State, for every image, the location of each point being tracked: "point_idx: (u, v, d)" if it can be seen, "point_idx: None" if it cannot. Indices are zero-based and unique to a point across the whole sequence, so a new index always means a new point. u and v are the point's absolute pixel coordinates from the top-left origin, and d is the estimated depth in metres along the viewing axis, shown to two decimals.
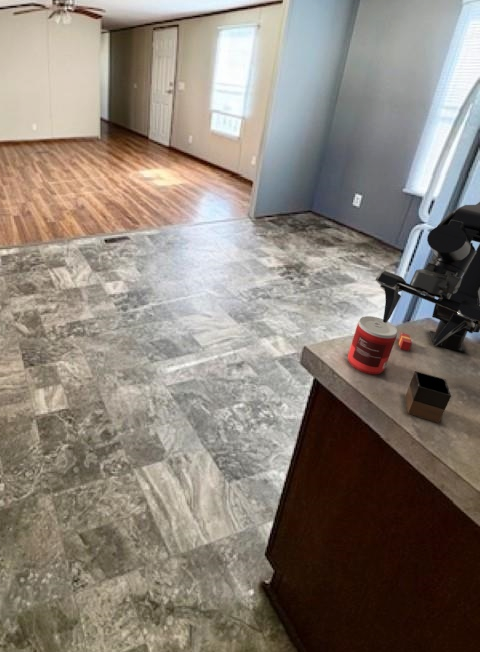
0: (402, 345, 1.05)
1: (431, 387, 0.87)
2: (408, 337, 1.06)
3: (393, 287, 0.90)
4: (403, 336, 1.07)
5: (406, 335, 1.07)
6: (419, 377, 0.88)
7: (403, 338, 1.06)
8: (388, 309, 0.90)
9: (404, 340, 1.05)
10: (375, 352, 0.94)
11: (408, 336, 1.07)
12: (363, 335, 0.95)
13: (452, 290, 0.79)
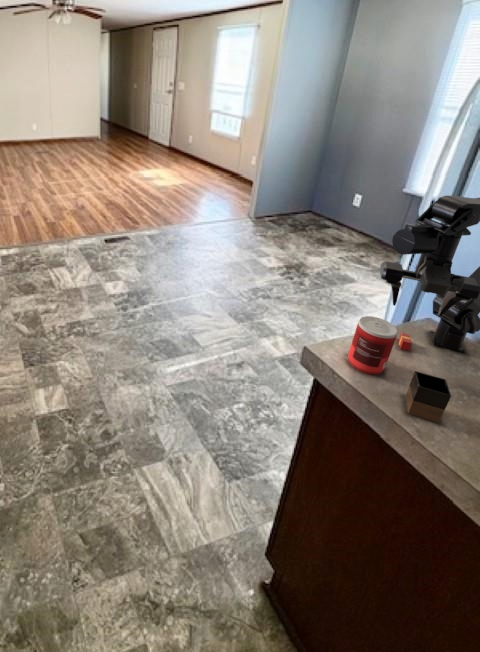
0: (402, 345, 1.05)
1: (431, 387, 0.87)
2: (408, 337, 1.06)
3: None
4: (403, 336, 1.07)
5: (406, 335, 1.07)
6: (419, 377, 0.88)
7: (403, 338, 1.06)
8: (396, 296, 1.03)
9: (404, 340, 1.05)
10: (375, 352, 0.94)
11: (408, 336, 1.07)
12: (363, 335, 0.95)
13: (459, 290, 0.91)
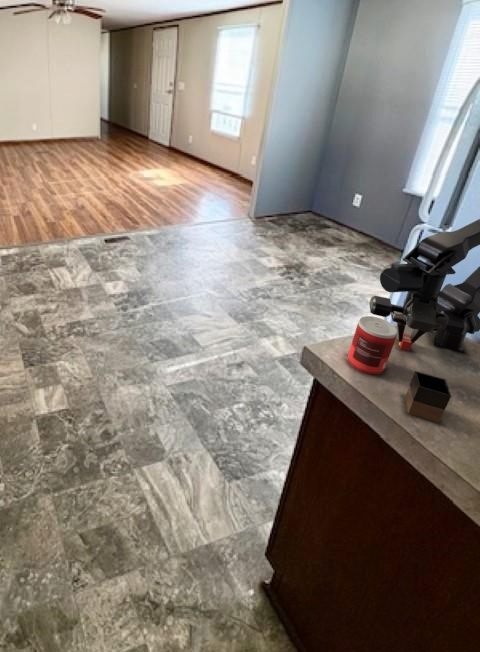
0: (402, 345, 1.05)
1: (431, 387, 0.87)
2: (408, 337, 1.06)
3: (403, 319, 1.03)
4: (403, 336, 1.07)
5: (406, 335, 1.07)
6: (419, 377, 0.88)
7: (403, 338, 1.06)
8: (402, 333, 1.05)
9: (404, 340, 1.05)
10: (375, 352, 0.94)
11: (408, 336, 1.07)
12: (363, 335, 0.95)
13: (444, 328, 0.95)
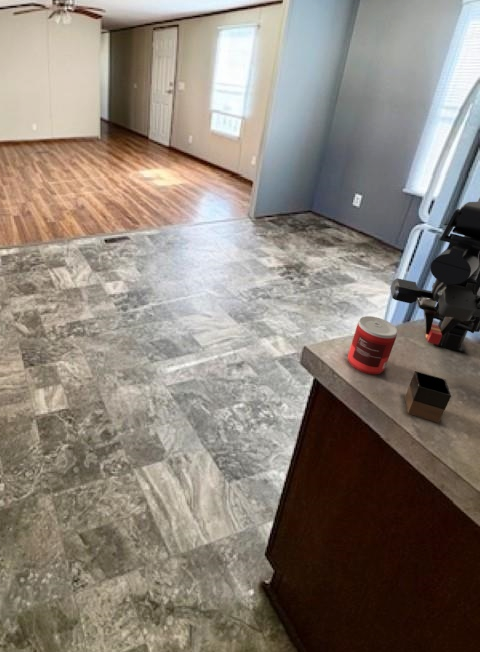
0: (430, 338, 0.88)
1: (431, 387, 0.87)
2: (437, 328, 0.89)
3: (433, 306, 0.85)
4: (431, 327, 0.89)
5: (435, 326, 0.89)
6: (419, 377, 0.88)
7: (431, 329, 0.88)
8: (430, 324, 0.88)
9: (433, 332, 0.87)
10: (375, 352, 0.94)
11: (437, 327, 0.89)
12: (363, 335, 0.95)
13: None
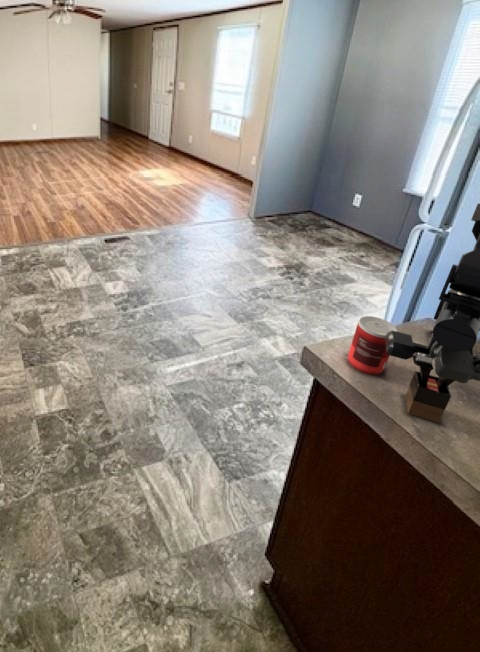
0: None
1: None
2: (434, 383, 0.85)
3: (429, 363, 0.82)
4: (428, 382, 0.85)
5: (432, 380, 0.86)
6: (419, 377, 0.88)
7: (428, 385, 0.84)
8: (426, 379, 0.84)
9: (429, 388, 0.84)
10: (375, 352, 0.94)
11: (434, 382, 0.85)
12: (363, 335, 0.95)
13: None
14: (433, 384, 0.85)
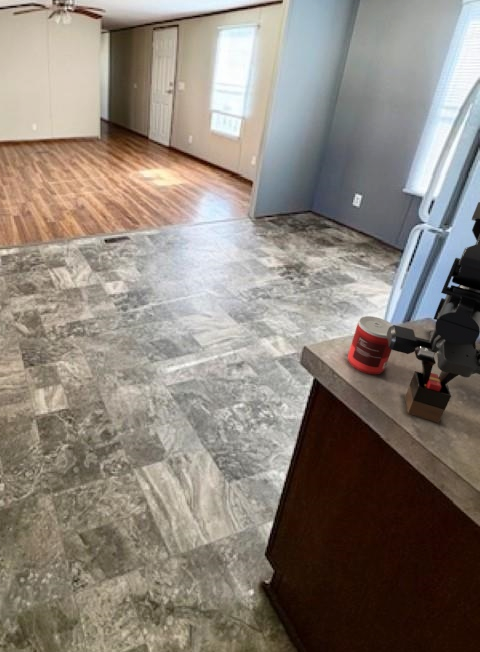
0: None
1: None
2: (436, 378, 0.84)
3: (431, 357, 0.81)
4: (430, 377, 0.85)
5: (434, 375, 0.85)
6: (419, 377, 0.88)
7: (430, 379, 0.84)
8: (428, 374, 0.83)
9: (432, 382, 0.83)
10: (375, 352, 0.94)
11: (436, 377, 0.85)
12: (363, 335, 0.95)
13: None
14: (435, 379, 0.84)
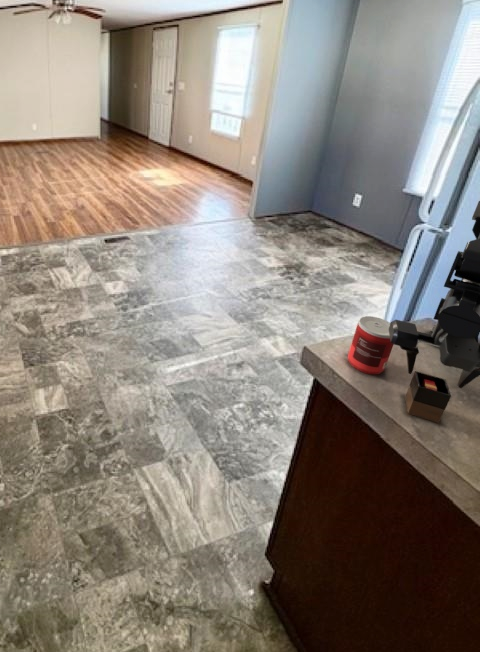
0: None
1: None
2: (433, 385, 0.85)
3: (415, 347, 0.82)
4: (427, 384, 0.85)
5: (431, 382, 0.86)
6: (419, 377, 0.88)
7: (427, 387, 0.85)
8: (412, 364, 0.84)
9: None
10: (375, 352, 0.94)
11: (433, 384, 0.85)
12: (363, 335, 0.95)
13: None
14: (432, 386, 0.85)
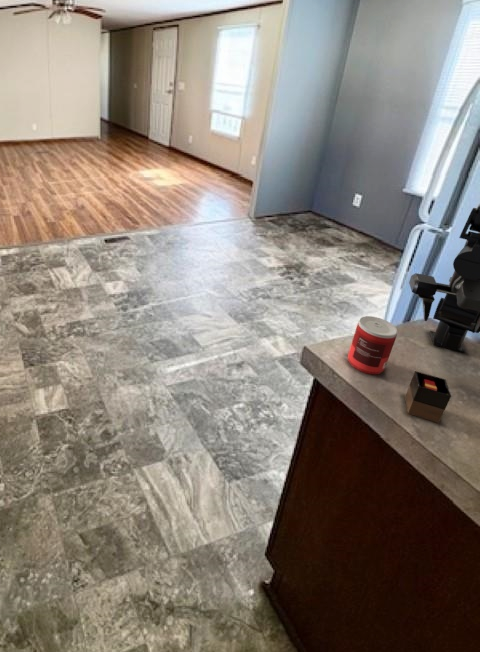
0: None
1: None
2: (433, 385, 0.85)
3: None
4: (427, 384, 0.85)
5: (431, 382, 0.86)
6: (419, 377, 0.88)
7: (427, 387, 0.85)
8: (428, 311, 0.95)
9: None
10: (375, 352, 0.94)
11: (433, 384, 0.85)
12: (363, 335, 0.95)
13: None
14: (432, 386, 0.85)
